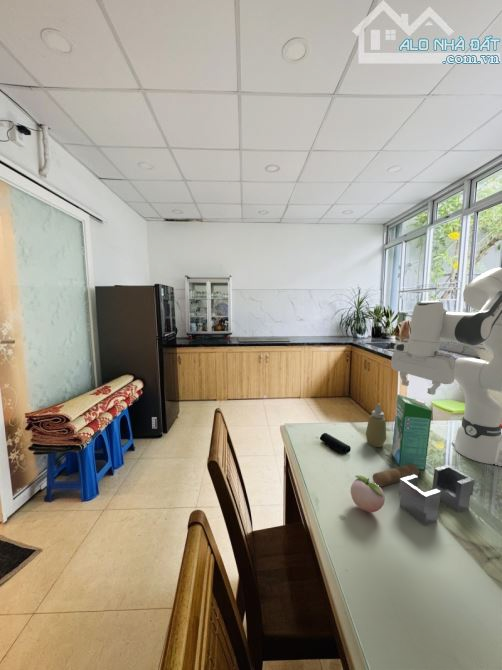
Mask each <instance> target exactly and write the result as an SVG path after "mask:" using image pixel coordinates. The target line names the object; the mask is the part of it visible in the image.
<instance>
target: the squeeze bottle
mask: <svg viewBox="0 0 502 670" xmlns="http://www.w3.org/2000/svg"><path fill="white" fill-rule="evenodd" d="M365 436H366V440H367V443H368V445H370V446H371V447H375V448H381V447H383V446H384V444H385V442H386V440H387V419H386V418H385V413H384V412H383V411H382V408H381V403H377V404H376V406H375V410H372V411H371V414H370V415H369V416H368V422H367V426H366V432H365Z"/></svg>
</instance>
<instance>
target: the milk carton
mask: <svg viewBox="0 0 502 670" xmlns="http://www.w3.org/2000/svg"><path fill="white" fill-rule="evenodd" d="M396 395H397V397H396V406H395V407H396V408H395V414H394V415H395V416H394V425H393V427H394V428H393V437H392V446H391V454H392V455H391V456H393V458H394V460H395V462H396V463H397V465H398V467H400V466H404V465H408V464H414V465H415V466H416V467H417V468H418V470H425V471H426V465H427V456H428V448H429V438H430V432H431V431H430V430H431V423H432V422H431V421H432V415H433V413H432V412H433V411H432V410H431V409H430V408H429V407H428V406H427V405H426V402H425V401H423V400H422V399H418V398H410V397H408V396H404V395H401V394H396Z"/></svg>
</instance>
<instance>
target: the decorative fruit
mask: <svg viewBox="0 0 502 670" xmlns="http://www.w3.org/2000/svg"><path fill="white" fill-rule="evenodd" d="M354 477H355V480H354V481H353V482H352V484H351V485H350V495H351V499H352V501H353V503H354V504H355V505H356V507H358V508H359V509H361V510H362V511H365V512H368V513H375V512H378V511H380V510H381V509H382V508H383V506H384V505H385V501H386V500H385V499H386V498H385V494H384V491H383V489H382V488H381V487H379V486H378V485H377V484H375V483H374V482H371V481H370V478H369V477H368V478H367V477H366V476H363V475H359V474H358V475H355V476H354Z"/></svg>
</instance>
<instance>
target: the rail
mask: <svg viewBox="0 0 502 670" xmlns="http://www.w3.org/2000/svg"><path fill="white" fill-rule="evenodd" d="M419 470H420V469H418V468H417V467H416V466H415V465H414V464H408V465H404V466H397V467H394V468H391V469H387V470H382V471H379V472H375V473H373V475H372V481H373V483H374V482H375V483H376V484H377V485H379V486H380V488H381V487H384V486H386V485H387V486H388V485H390V484H393V483H394V484H395V483H397V482H400V479H401V478H404V477H407V476H411V475H414V474H415V475H416V476H419V473H420V471H419Z"/></svg>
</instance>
